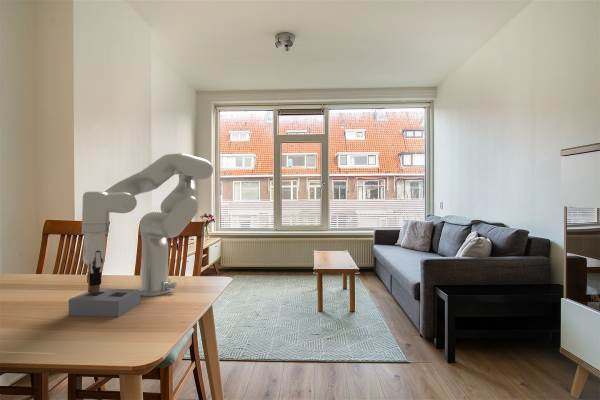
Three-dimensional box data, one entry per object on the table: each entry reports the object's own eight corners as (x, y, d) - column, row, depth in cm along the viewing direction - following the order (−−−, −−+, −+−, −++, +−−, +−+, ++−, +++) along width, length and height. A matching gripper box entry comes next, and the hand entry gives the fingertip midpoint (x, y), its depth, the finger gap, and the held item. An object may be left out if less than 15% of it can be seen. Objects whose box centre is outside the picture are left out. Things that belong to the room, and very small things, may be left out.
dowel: (101, 290, 102) (102, 260, 102) (95, 293, 99) (96, 262, 99) (92, 289, 102) (93, 260, 102) (85, 292, 99) (86, 262, 99)
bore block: (139, 303, 107) (140, 289, 107) (118, 316, 95) (118, 301, 95) (95, 302, 107) (95, 288, 107) (68, 315, 95) (68, 299, 95)
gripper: (78, 227, 104) (76, 280, 104) (86, 231, 92) (84, 292, 92) (103, 226, 109) (102, 277, 109) (114, 230, 97) (112, 287, 97)
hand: (94, 283), depth 101 cm, fingers closed on dowel, 3 cm apart
